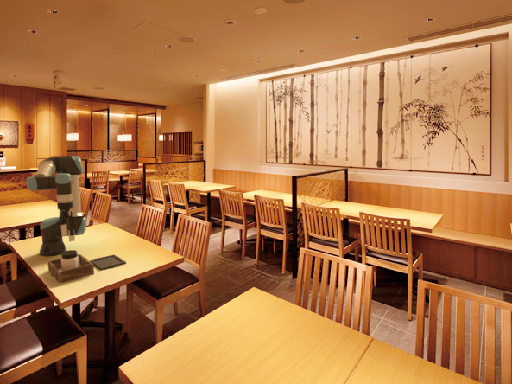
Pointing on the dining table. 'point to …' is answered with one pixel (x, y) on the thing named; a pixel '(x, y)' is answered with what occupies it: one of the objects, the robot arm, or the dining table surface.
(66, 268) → the jar
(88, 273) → the crate
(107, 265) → the tray
